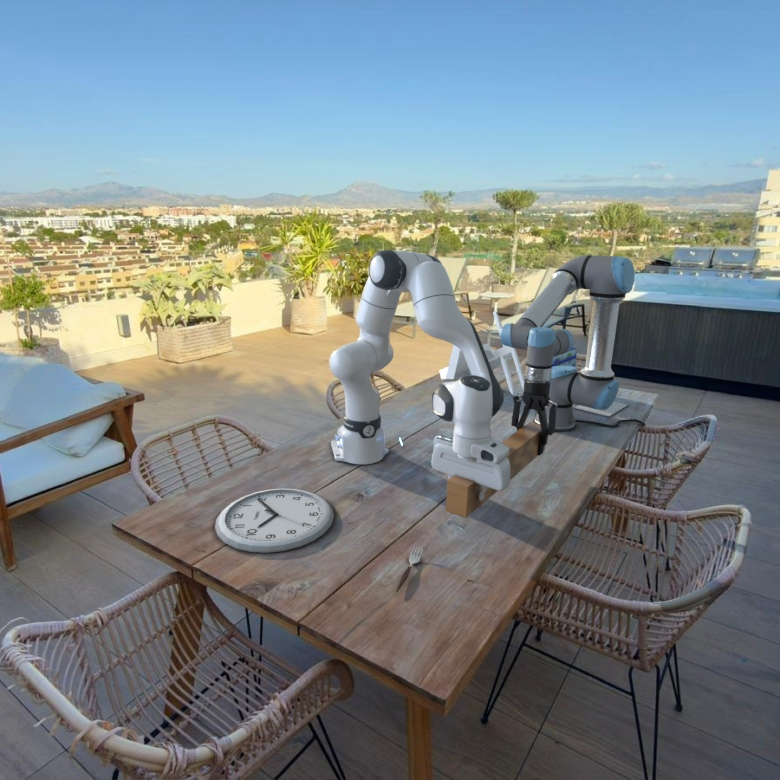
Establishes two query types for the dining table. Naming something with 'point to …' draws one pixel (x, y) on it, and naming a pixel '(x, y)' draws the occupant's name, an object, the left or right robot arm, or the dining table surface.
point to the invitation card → (608, 412)
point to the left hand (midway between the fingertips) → (467, 494)
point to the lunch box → (565, 358)
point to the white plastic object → (494, 357)
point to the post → (519, 456)
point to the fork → (413, 560)
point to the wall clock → (274, 520)
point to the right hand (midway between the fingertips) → (530, 451)
